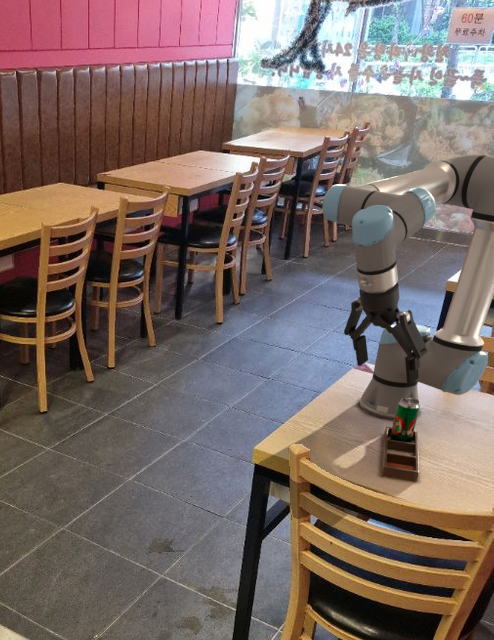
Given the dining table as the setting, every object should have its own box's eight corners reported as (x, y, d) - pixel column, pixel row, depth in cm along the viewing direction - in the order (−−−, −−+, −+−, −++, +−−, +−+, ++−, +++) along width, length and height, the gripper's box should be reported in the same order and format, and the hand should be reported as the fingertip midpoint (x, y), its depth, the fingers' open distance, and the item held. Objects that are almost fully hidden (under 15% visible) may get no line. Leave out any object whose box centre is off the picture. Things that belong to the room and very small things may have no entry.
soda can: (407, 440, 187) (418, 396, 181) (412, 449, 182) (423, 405, 176) (386, 439, 187) (396, 395, 181) (391, 448, 183) (401, 404, 177)
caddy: (383, 435, 189) (385, 426, 188) (415, 440, 187) (417, 431, 186) (381, 476, 171) (383, 466, 170) (416, 481, 169) (419, 472, 168)
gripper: (319, 281, 158) (332, 364, 171) (417, 308, 139) (423, 398, 152) (344, 265, 160) (355, 347, 173) (444, 288, 141) (447, 379, 154)
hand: (387, 371), depth 163 cm, fingers open, 13 cm apart
